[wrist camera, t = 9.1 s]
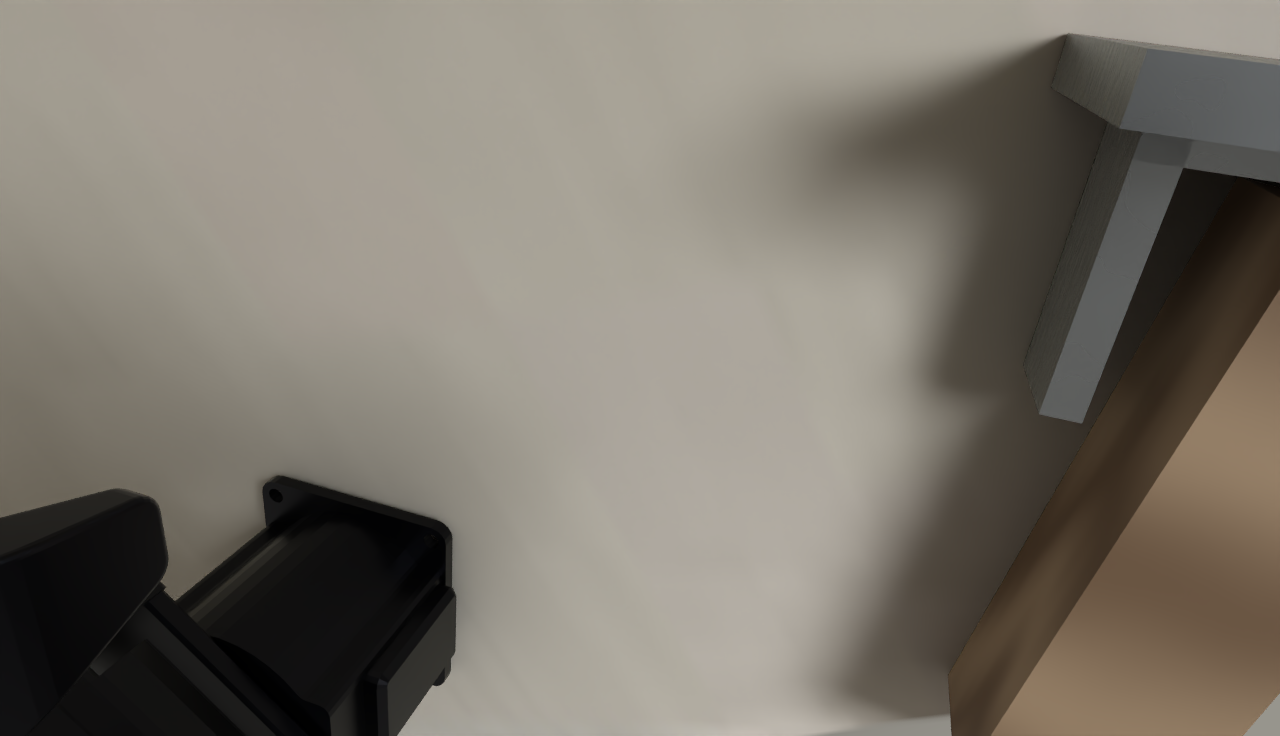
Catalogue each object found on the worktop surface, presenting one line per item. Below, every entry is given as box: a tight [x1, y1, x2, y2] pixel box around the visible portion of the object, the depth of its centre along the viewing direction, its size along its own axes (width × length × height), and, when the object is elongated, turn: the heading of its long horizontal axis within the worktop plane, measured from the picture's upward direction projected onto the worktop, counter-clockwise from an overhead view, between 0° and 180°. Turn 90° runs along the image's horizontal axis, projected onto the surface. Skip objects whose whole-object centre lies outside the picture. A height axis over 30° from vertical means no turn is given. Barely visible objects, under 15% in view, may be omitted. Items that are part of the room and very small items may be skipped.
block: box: [948, 176, 1280, 736], centre depth 17 cm, size 14×4×4 cm, turn 166°
